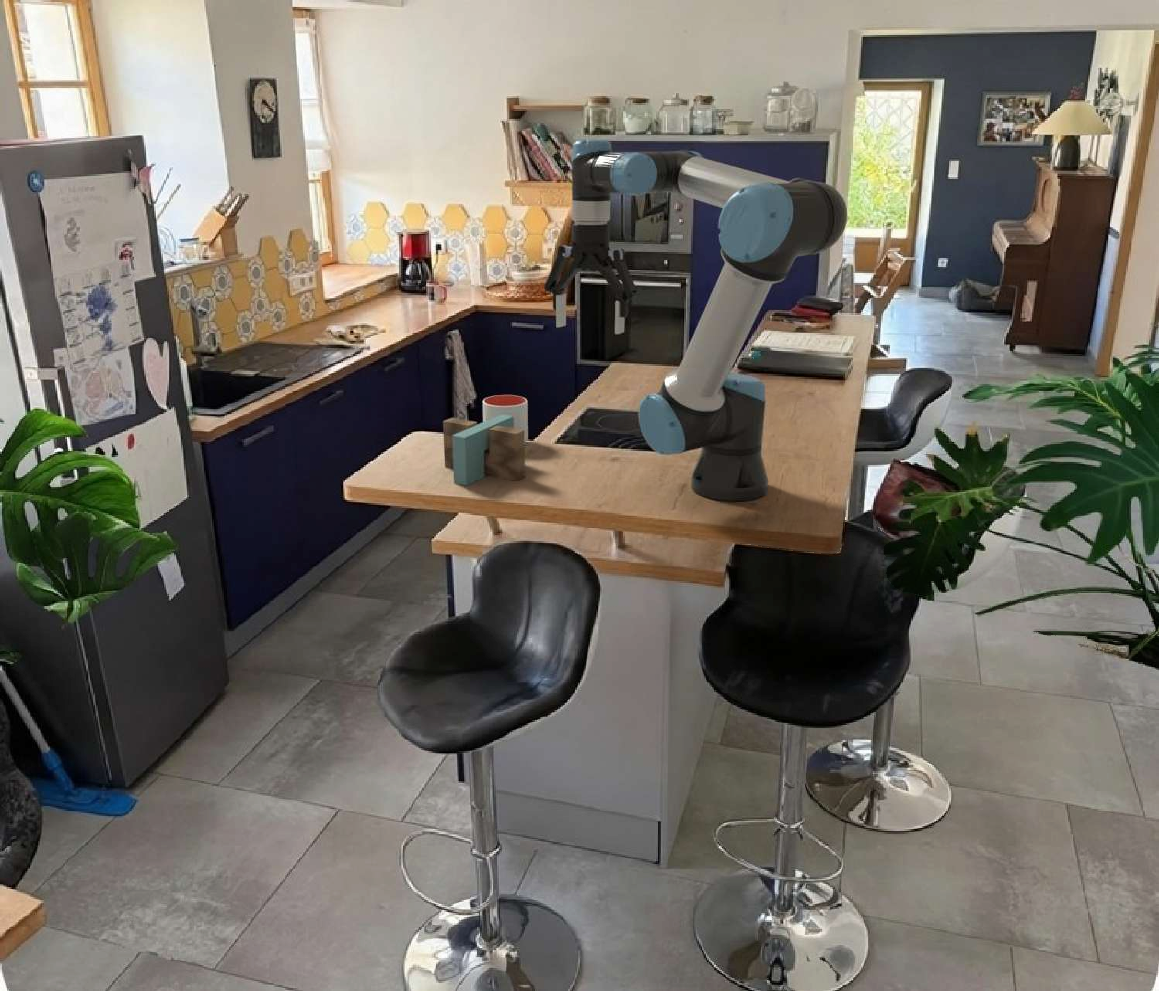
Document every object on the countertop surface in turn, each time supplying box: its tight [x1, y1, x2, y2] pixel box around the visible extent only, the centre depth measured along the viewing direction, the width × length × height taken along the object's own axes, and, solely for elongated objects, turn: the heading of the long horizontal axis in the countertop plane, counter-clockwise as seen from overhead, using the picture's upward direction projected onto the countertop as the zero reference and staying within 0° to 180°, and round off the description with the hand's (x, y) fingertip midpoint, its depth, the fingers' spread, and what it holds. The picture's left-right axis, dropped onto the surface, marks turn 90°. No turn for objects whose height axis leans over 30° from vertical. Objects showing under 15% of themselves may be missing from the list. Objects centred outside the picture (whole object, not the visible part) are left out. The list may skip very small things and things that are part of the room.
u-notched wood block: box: [442, 417, 526, 482], centre depth 211 cm, size 18×3×10 cm, turn 61°
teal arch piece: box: [452, 414, 514, 486], centre depth 211 cm, size 18×3×10 cm, turn 151°
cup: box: [482, 394, 529, 444], centre depth 230 cm, size 10×10×10 cm
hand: (589, 329), depth 208 cm, fingers open, 13 cm apart
